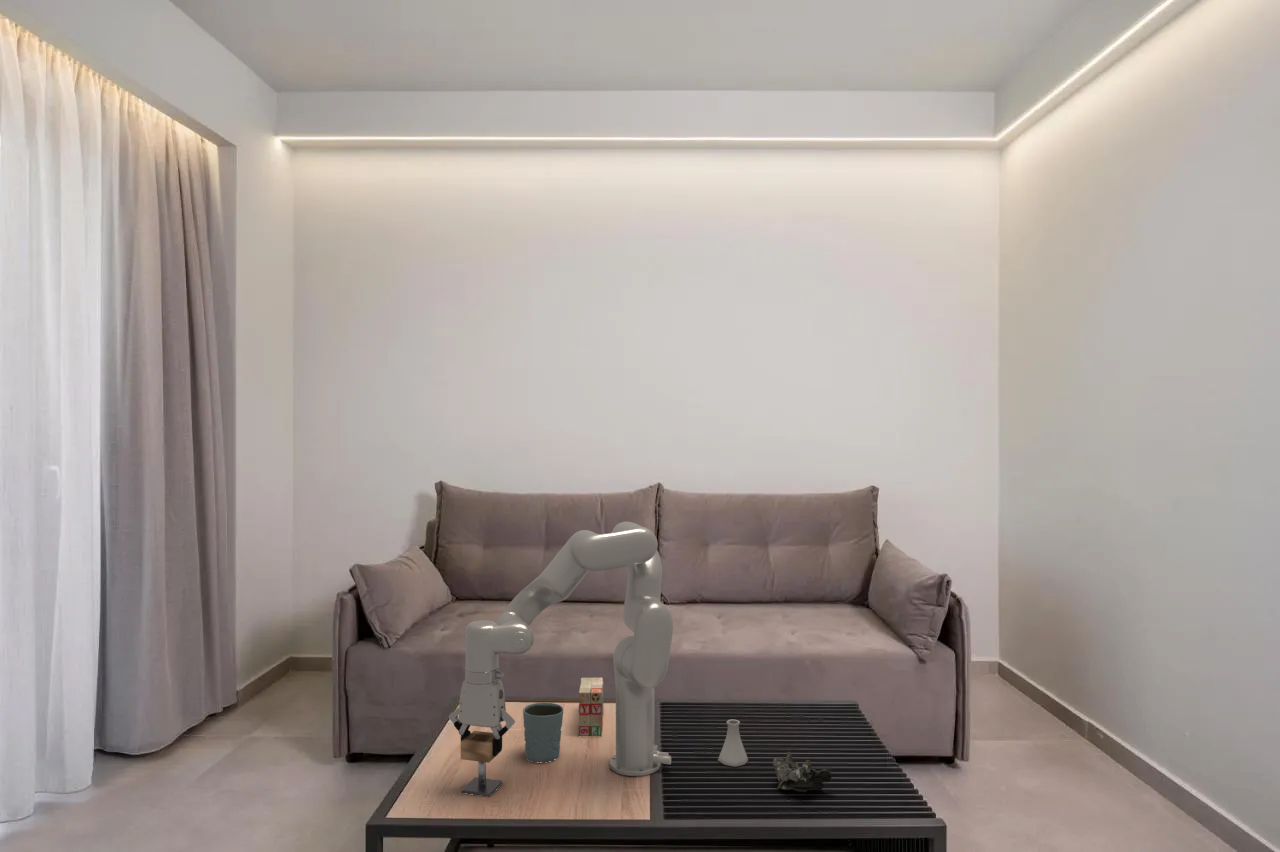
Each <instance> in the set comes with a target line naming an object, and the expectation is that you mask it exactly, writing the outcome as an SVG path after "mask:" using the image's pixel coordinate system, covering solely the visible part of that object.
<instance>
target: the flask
mask: <svg viewBox="0 0 1280 852" xmlns="http://www.w3.org/2000/svg"><path fill="white" fill-rule="evenodd" d="M725 724H727V732H726V737H725V740H724V743H723V746H722V749H721V751H720V754H719V756H718V758H717V761H718V762H720V763H721V764H723V765H725V766H729V767H734V768H736V767H741V766H744V765H746V763H748V761H749V758H748V756H747V755H748V754H747V752H746V749H745V747H744V745H743V741H742V739H741V734H740V729H739V728H740V725H741V721H739V720H737V719H728V720H727V721H726V722H725Z"/></svg>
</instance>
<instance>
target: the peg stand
mask: <svg viewBox="0 0 1280 852" xmlns="http://www.w3.org/2000/svg"><path fill="white" fill-rule="evenodd" d="M477 766H478V768H477V770H478V771H477V772H478V775H477V776H475V777H473V778H472V779H471V780H470V781H469V782H468V783H467V784H466V785H465V786H464V787H463V788H462V789H461V794H462V793H467V794H466V795H469V794H473V795H472V796H477V795H482V796H481V797H485V796H488V797H487V798H490V797H492V795H494V793H496V791H497V790H498V789H499V788H500V787H501V786H502V785H503V780H500V779H494V778H487V762H478V761H477ZM501 784H502V785H501ZM500 785H501V786H500ZM499 786H500V787H499ZM498 787H499V788H498ZM497 788H498V789H497ZM496 789H497V790H496Z"/></svg>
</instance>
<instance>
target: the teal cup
mask: <svg viewBox="0 0 1280 852" xmlns="http://www.w3.org/2000/svg"><path fill="white" fill-rule="evenodd" d="M563 707H564V706H561V704H557V703H554V702H537V703H535V702H534V703H531V704H528V705H526V706H525V707H523V709H522V715H523V727H524V735H523V736H524V741H525V744H524V753H525V758H527V759H528V760H529V762H531V761H532V762H531V763H534V762H539V763H538V764H541V763H540V762H547V763H550V762H549V761H551V762H554V761H555V760H554V759H556V760H558V758H559V757H560V750H561V739H562V738H561V737H562V730H561V729H562V727H563V720H564V719H563V718H564V717H563V716H564V711H565V710H564V708H563ZM527 759H526V760H527ZM528 760H527V761H528ZM553 760H554V761H553Z"/></svg>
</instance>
